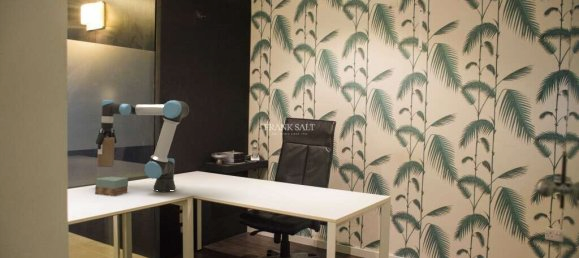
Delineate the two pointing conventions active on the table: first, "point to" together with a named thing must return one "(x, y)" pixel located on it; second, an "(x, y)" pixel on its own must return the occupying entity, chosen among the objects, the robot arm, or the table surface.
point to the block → (106, 153)
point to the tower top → (111, 182)
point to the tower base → (110, 191)
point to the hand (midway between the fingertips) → (106, 153)
